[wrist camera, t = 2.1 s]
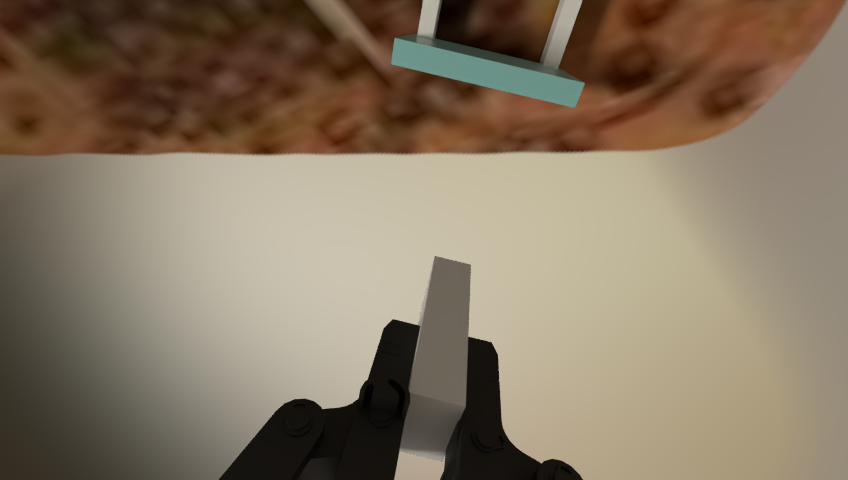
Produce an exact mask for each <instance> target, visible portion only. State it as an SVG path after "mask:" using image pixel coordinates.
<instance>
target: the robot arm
mask: <svg viewBox="0 0 848 480" xmlns="http://www.w3.org/2000/svg"><path fill="white" fill-rule="evenodd" d="M470 273H471V265H470V264H465V263H461V262H457V261H453V260H449V259H444V258H441V257H437V256H435V258H434V261H433V266H432V269H431V273H430V277H429V280H428V285H427V288H426V292H425V296H424V300H423V303H422V308H421V312H420V317H419V322H418V325H414V324H410V323H406V322H402V321H398V320H392V321H391V322H390V323H389V324H388V325H387V326H386V327H385V328H384V330H383V333H382V336H381V339H380V343H379V345H378V349H377V352H376V355H375V358H374V362H373V365H372V368H371V371H370V374H369V377H368V380H367V381H365V383H364V384H363V386H362V388H361V389H360V395H359V399H358V400H356V401H355V402H353V403H352V404H350V405H348V406H345V407H340V408H330V409H322V408H321V407H320V406H319V405H318V404H317V403H315V402H314V401H311V400H308V399H295V400H292V401H290V402H287V403H285V404H284V405H283V406H281V407H280V408H279V409H278V410H277V411H276V412H275V413H274V415H272V417H271V418H270V419H269V420H268V421H267V423H266V424H265V425H264V426H263V427H262V429H261V430H260V431H259V432H258V433H257V435H256V436H255V437H254V438H253V439H252V441H251V442H250V443H249V444H248V446H246V448H245V449H244V450H243V451H242V452H241V454H240V455H239V456H238V457H237V459H236V460H235V461H234V462H233V463H232V465H231V466H230V467H229V468H228V469H227V471H226V472H225V473H224V474H223V475H222V476H221V478H220V479H219V480H394V477H395V471H396V466H397V461H398V455H399V451H401V452H405V453H409V454H413V455H418V456H421V457H426V458H430V459H434V460H438V461H443V459H444V456H445V467H444V472H443V474H442V476H441V479H440V480H583V479H582V478H581V476H580V475H579V474H578V473H577V472H576V471H575V470H574V469H573V468H572V467H571V466H570V465H568V464H566V463H565V462H563V461H560V460H555V459H550V460H547V461H544V462H543V463H542V464H541V463H540V462H538V461H536V460H535V459H533V458H531V457H529V456H528V455H526V454H524V453H523V452H522V451H520V450H519V449H517V448H516V447H515V446H514V445H513V444H512V443H511V442H510V440H509V439H508V437H507V436H506V434H505V432H504V430H503V426H502V421H501V403H500V385H499V371H498V369H499V367H498V354H497V352H496V350H495V348H494V346H493V344H492V343H491V342H488V341H484V340H480V339H475V338H471V337H468V328H469V326H468V325H469V301H470ZM445 454H446V455H445Z"/></svg>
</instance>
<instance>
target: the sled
mask: <svg viewBox="0 0 848 480" xmlns="http://www.w3.org/2000/svg"><path fill="white" fill-rule="evenodd" d="M582 1H583V0H560V2H559V5H558V8H557V11H556V14H555V17H554V20H553V23H552V26H551V29H550V32H549V35H548V38H547V41H546V44H545V47H544V50H543V53H542V56H541V59H540V62H539V63H537V62H533V61H529V60H524V59H520V58H516V57H512V56H507V55H503V54H499V53H495V52H491V51H486V50H482V49H478V48H474V47H470V46H465V45H461V44H457V43H453V42H449V41H444V40H440V39H436V38H435V36H436V30H437V25H438V20H439V15H440V9H441V4H442V0H423V5H422V11H421V17H420V23H419V29H418V34H412V35H407V36H402V37H397V38H395V40H394V48H393V55H392V62H391V64H393V65H397V66H401V67H405V68H410V69H414V70H418V71H422V72H426V73H430V74H435V75H439V76H443V77H447V78H451V79H456V80H460V81H464V82H468V83H472V84H477V85H481V86H485V87H489V88H493V89H498V90H502V91H506V92H510V93H514V94H519V95H523V96H527V97H531V98H535V99H540V100H544V101H548V102H552V103H556V104H561V105H565V106H569V107H573V108H575V107H576V104H577V102H578V99H579V97H580V94H581V92H582V89H583V87H584V84H585V83H584V82H582V81H580V80H579V79H577V78H575V77H574V76H572V75H570V74H568V73H567V72H565V71H563V70H562V69H560V68H558V67H559V65H560V62H561V59H562V56H563V53H564V51H565V48H566V45H567V42H568V40H569V37H570V34H571V31H572V28H573V26H574V23H575V20H576V17H577V14H578V12H579V9H580V6H581V3H582Z"/></svg>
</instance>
